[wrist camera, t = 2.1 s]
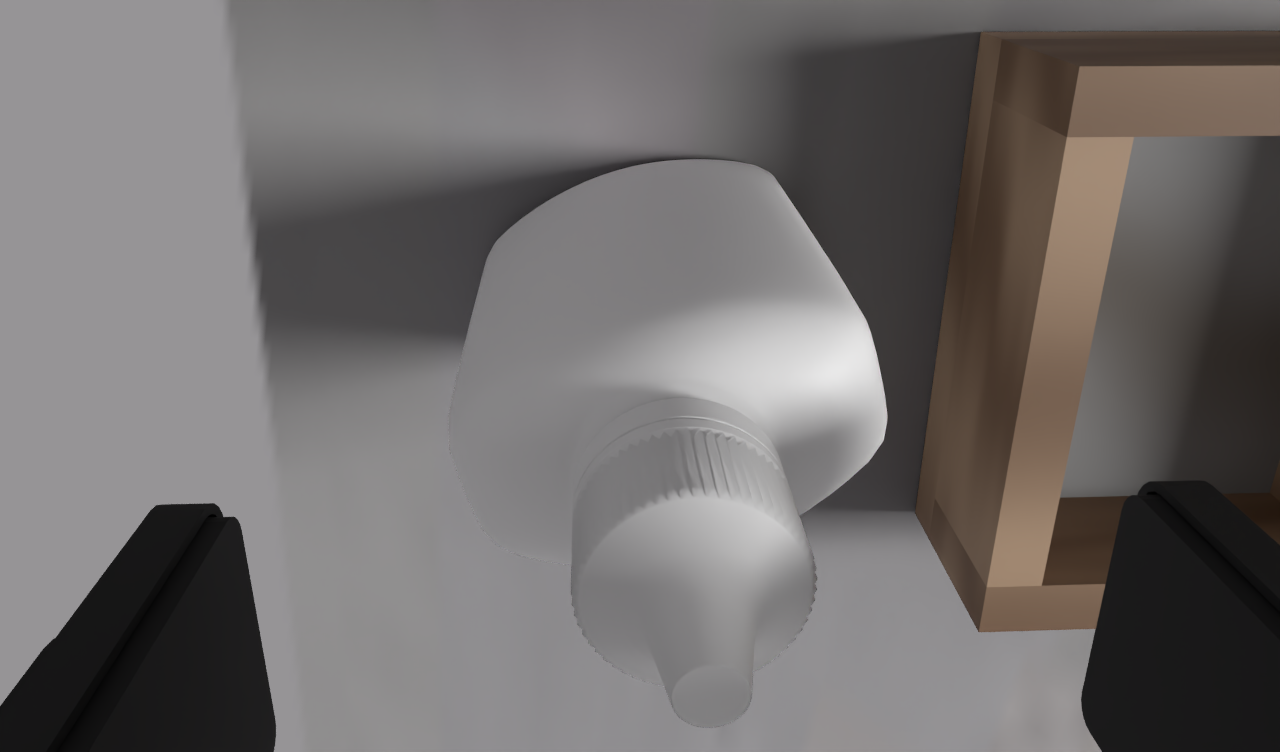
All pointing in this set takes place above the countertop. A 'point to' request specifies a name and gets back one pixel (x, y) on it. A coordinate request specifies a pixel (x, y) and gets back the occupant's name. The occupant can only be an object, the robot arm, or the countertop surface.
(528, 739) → the countertop surface
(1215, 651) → the robot arm
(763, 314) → the eye dropper bottle
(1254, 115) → the bottle holder
